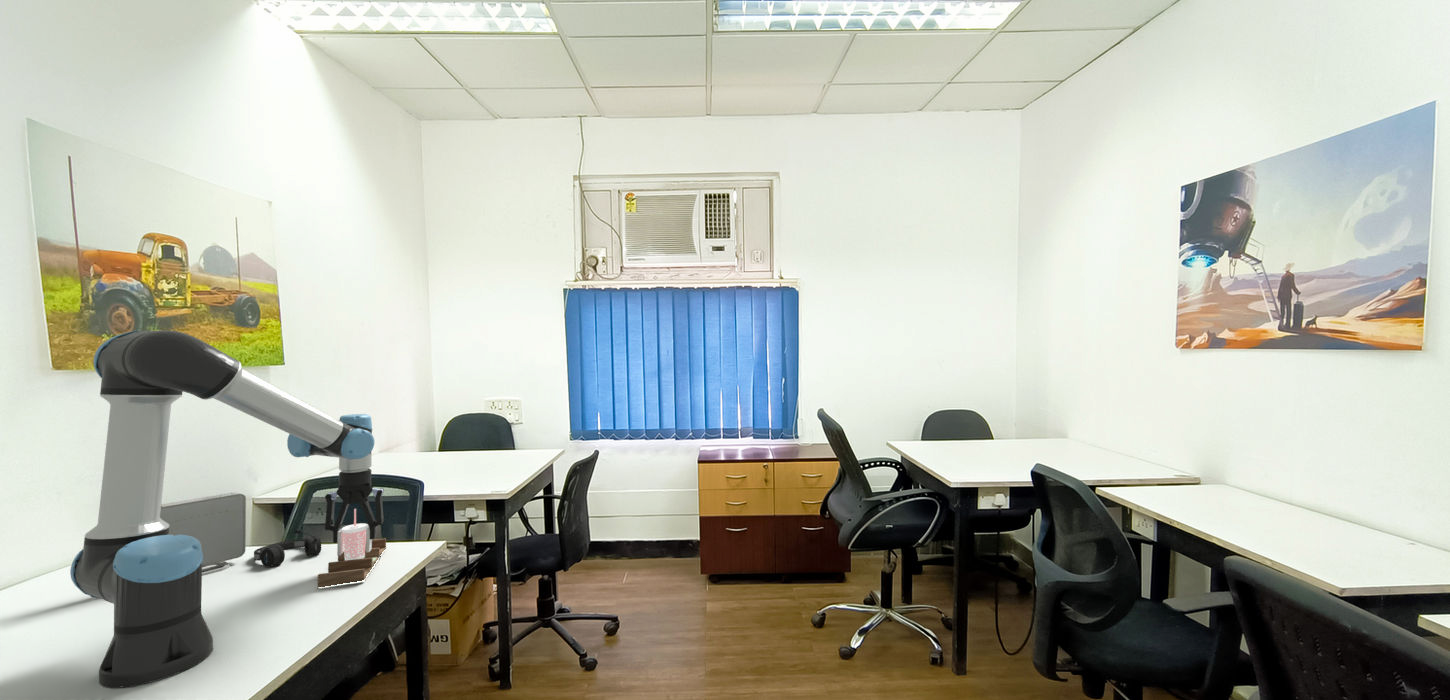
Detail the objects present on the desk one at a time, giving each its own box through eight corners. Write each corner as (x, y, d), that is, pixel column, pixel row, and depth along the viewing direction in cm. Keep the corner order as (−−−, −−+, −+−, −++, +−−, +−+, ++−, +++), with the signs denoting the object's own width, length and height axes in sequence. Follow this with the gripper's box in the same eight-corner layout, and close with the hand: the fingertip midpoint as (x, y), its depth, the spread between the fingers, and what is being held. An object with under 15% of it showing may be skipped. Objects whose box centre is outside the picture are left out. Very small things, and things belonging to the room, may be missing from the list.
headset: (273, 535, 148) (245, 531, 158) (274, 570, 147) (246, 564, 158) (329, 522, 159) (299, 519, 170) (331, 555, 159) (301, 550, 169)
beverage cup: (346, 564, 146) (346, 513, 147) (337, 559, 150) (338, 509, 150) (371, 558, 151) (371, 508, 151) (363, 553, 155) (363, 504, 155)
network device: (114, 598, 132) (115, 516, 132) (106, 590, 136) (106, 511, 136) (248, 563, 153) (248, 493, 154) (236, 557, 158) (237, 489, 158)
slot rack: (363, 582, 141) (363, 569, 141) (317, 589, 137) (317, 575, 137) (386, 549, 165) (386, 538, 165) (347, 554, 161) (347, 542, 161)
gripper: (397, 464, 158) (396, 543, 158) (319, 469, 151) (318, 552, 151) (391, 469, 151) (391, 552, 151) (309, 475, 144) (308, 561, 144)
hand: (354, 552), depth 151 cm, fingers closed on beverage cup, 6 cm apart
